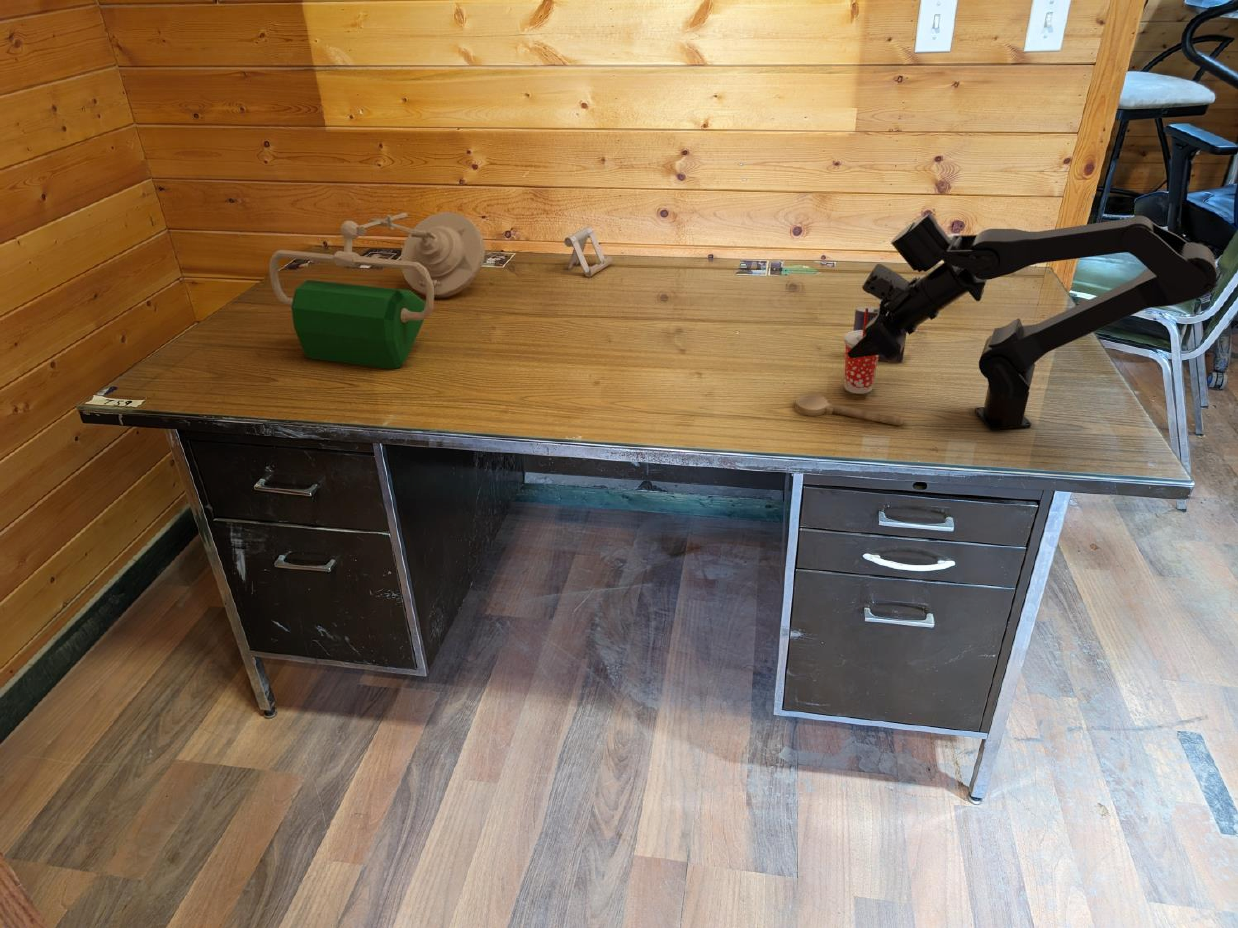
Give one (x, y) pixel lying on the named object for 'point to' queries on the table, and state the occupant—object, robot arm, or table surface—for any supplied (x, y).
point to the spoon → (839, 410)
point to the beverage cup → (859, 364)
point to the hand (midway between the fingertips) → (854, 347)
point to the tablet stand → (578, 244)
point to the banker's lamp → (382, 291)
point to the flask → (860, 322)
